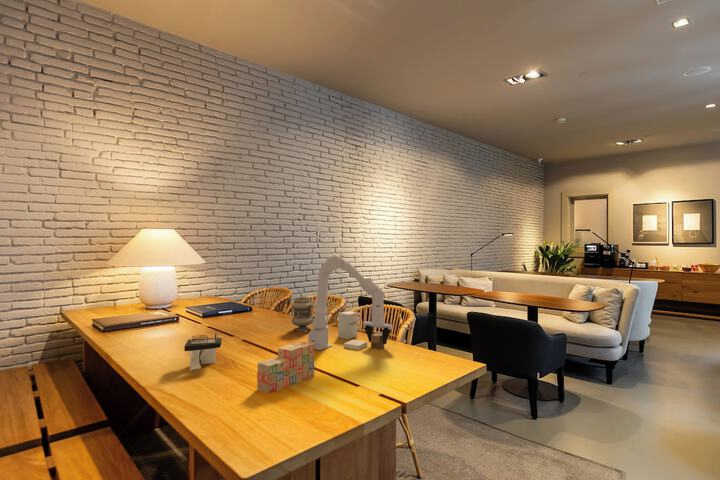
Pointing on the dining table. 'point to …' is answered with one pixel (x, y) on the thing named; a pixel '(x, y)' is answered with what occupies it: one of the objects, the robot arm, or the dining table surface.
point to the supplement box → (347, 324)
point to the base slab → (355, 344)
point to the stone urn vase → (302, 313)
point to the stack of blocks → (286, 367)
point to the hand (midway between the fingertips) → (377, 342)
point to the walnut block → (377, 341)
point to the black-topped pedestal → (202, 350)
